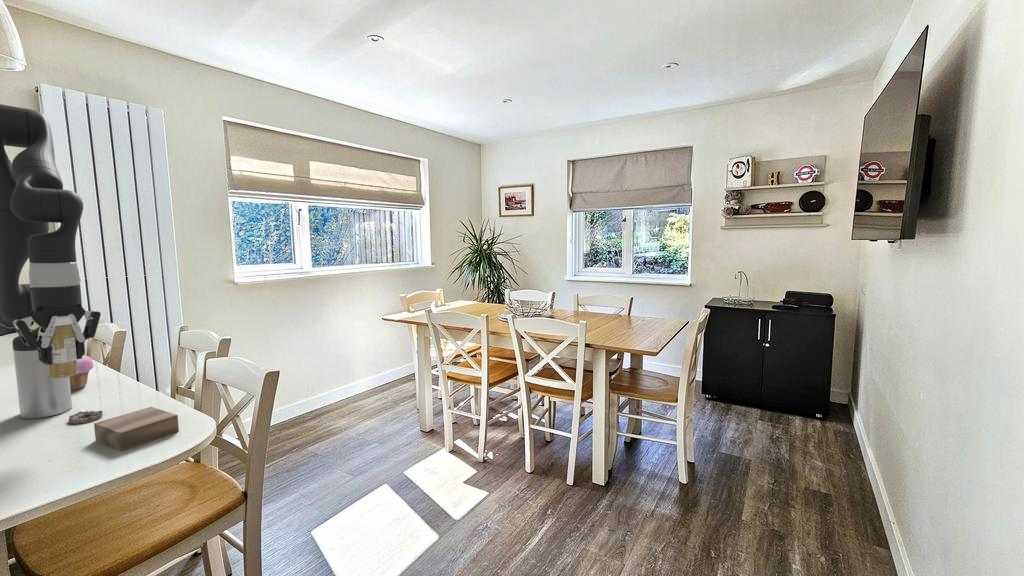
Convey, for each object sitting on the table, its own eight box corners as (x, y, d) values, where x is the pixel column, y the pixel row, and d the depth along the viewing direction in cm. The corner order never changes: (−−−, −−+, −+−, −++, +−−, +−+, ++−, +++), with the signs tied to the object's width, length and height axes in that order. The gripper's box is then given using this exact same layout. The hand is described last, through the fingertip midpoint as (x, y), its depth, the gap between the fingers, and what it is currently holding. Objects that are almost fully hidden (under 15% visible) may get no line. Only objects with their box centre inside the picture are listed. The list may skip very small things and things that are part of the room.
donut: (102, 424, 109) (101, 416, 109) (58, 431, 105) (57, 423, 105) (109, 412, 116) (109, 405, 116) (69, 418, 112) (68, 411, 112)
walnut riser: (95, 440, 99) (94, 423, 99) (152, 422, 109) (151, 406, 109) (122, 451, 95) (120, 433, 94) (178, 431, 105) (177, 414, 104)
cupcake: (58, 386, 133) (54, 354, 132) (97, 381, 138) (94, 350, 137) (51, 395, 126) (47, 361, 125) (93, 389, 131) (90, 356, 130)
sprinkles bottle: (43, 378, 95) (36, 317, 94) (64, 372, 100) (59, 313, 98) (64, 379, 95) (58, 317, 94) (85, 372, 100) (79, 313, 98)
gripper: (89, 279, 103) (95, 351, 105) (-1, 285, 90) (8, 367, 92) (106, 281, 100) (112, 356, 102) (15, 288, 87) (24, 372, 89)
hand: (62, 360), depth 97 cm, fingers closed on sprinkles bottle, 4 cm apart
